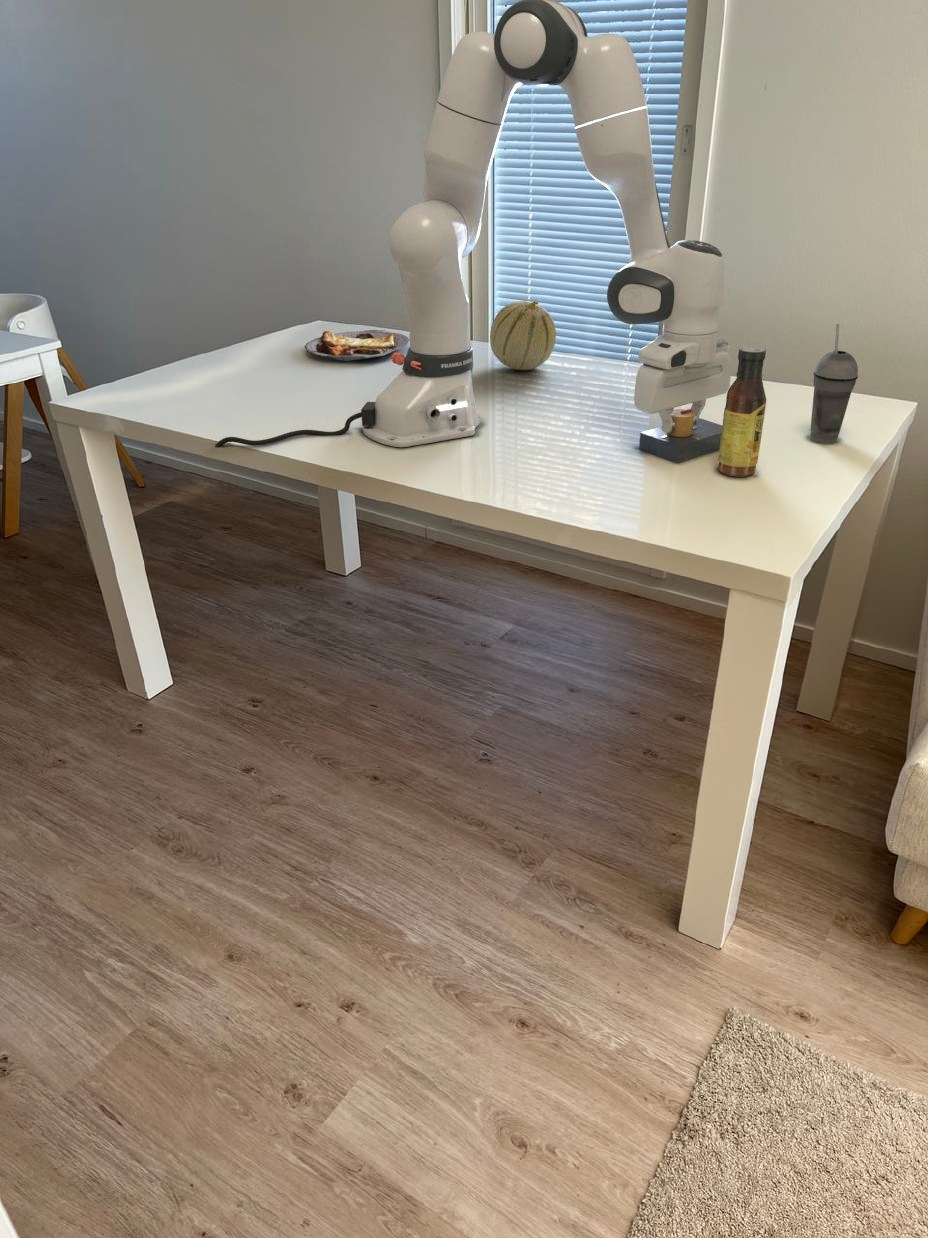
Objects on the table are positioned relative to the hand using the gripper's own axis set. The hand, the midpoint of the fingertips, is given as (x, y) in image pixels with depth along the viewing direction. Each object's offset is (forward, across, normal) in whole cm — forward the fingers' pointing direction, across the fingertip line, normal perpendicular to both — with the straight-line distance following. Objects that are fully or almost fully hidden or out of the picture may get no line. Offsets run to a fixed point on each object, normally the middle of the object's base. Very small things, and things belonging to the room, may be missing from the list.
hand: (679, 428), depth 159 cm
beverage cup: (+4, -24, +12) cm, 27 cm away
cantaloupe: (+4, -12, -58) cm, 59 cm away
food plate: (+4, +9, -94) cm, 95 cm away
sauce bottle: (+4, 0, +13) cm, 14 cm away
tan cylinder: (+1, 0, 0) cm, 1 cm away
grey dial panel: (+4, -2, 0) cm, 4 cm away
